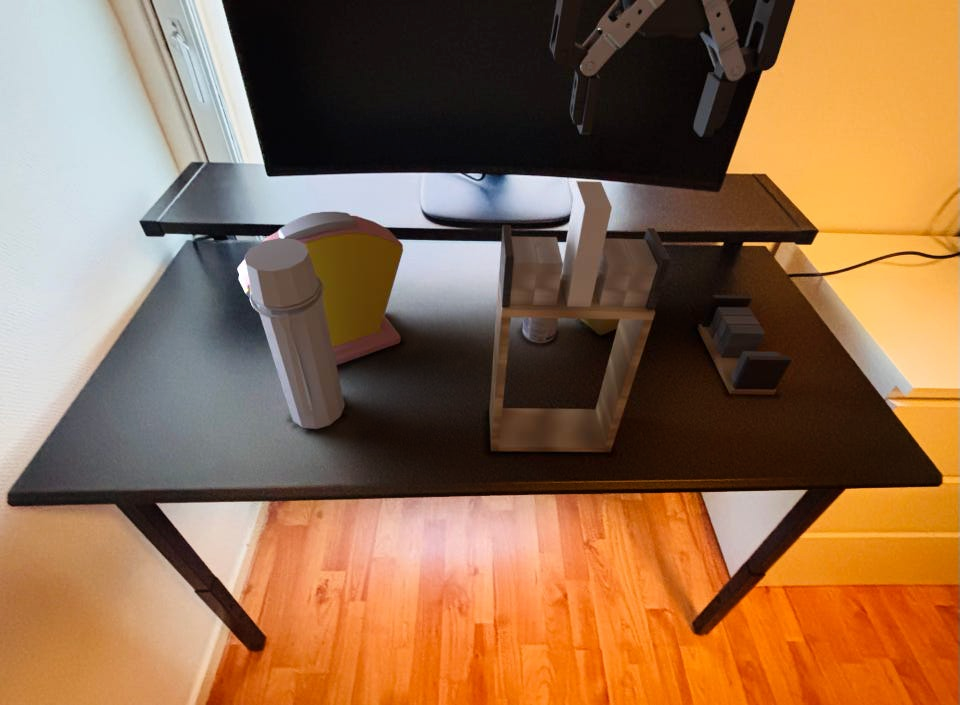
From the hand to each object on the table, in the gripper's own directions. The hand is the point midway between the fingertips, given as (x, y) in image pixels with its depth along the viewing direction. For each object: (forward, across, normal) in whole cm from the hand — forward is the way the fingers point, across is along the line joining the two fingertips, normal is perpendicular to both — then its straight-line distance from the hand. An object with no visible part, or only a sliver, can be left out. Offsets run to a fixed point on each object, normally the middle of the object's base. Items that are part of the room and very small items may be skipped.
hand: (642, 131), depth 38 cm
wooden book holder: (+20, +1, -7) cm, 21 cm away
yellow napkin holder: (+42, +32, -24) cm, 58 cm away
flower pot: (+42, -11, -30) cm, 53 cm away
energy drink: (+42, 0, -28) cm, 51 cm away
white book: (+19, +1, -7) cm, 20 cm away
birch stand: (+42, +1, -7) cm, 43 cm away
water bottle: (+42, +32, -9) cm, 54 cm away
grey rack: (+42, -30, -22) cm, 56 cm away
